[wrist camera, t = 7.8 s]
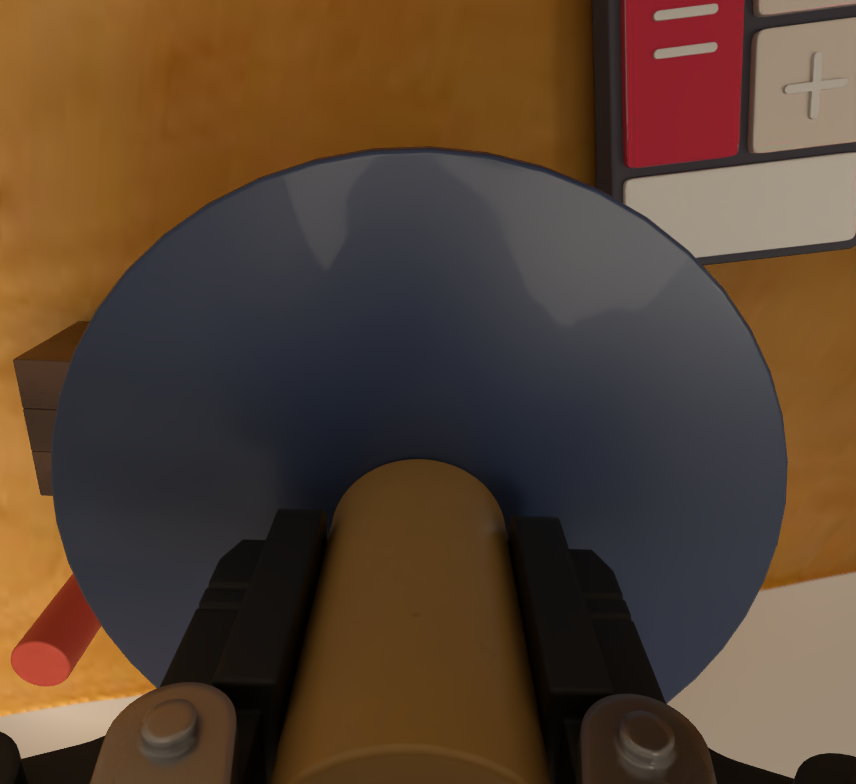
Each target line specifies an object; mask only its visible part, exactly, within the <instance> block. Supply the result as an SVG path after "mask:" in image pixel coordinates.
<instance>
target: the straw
mask: <svg viewBox="0 0 856 784" xmlns="http://www.w3.org/2000/svg"><path fill="white" fill-rule="evenodd" d="M100 627H101V624H100V622H99V620H98V619H97V617H96V616H95V614H94V612H93V611H92V609H91V608H90V606H89V604H88V603H87V601H86V600H85V598H84V596H83V594H82V591H81V589H80V587H79V585H78V582H77V580H76V578H75V576H74V574H72V575H71V577H70V578H69V579H68V581H67V582H66V583H65V584H64V586H63V587H62V588H61V589H60V591H59V592H58V593H57V595H56V596H55V597H54V598H53V600H52V601H51V602H50V604H49V605H48V606H47V607H46V609H45V610H44V611H43V612H42V614H41V615H40V616H39V618H38V619H37V620H36V621H35V623H34V624H33V625H32V627H31V628H30V629H29V630H28V632H27V633H26V634H25V635H24V637H23V638H22V639H21V641H20V642H19V643H18V644H17V646H16V647H15V648H14V650H13V652H12V655H11V664H12V667H13V669H14V670H15V672H16V673H17V674H18V675H19V676H20V677H21V678H22V679H24V680H25V681H27V682H29V683H32V684H34V685H38V686H54V685H57V684H60V683H62V682H63V681H64V680H66V679H67V678H68V676H69V675H70V673H71V672H72V670H73V669H74V667H75V666H76V664H77V662H78V661H79V659H80V658H81V656H82V655H83V653H84V652H85V650H86V649H87V647H88V645H89V644H90V642H91V641H92V639H93V638H94V636H95V635H96V633H97V631H98V630H99V628H100Z"/></svg>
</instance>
